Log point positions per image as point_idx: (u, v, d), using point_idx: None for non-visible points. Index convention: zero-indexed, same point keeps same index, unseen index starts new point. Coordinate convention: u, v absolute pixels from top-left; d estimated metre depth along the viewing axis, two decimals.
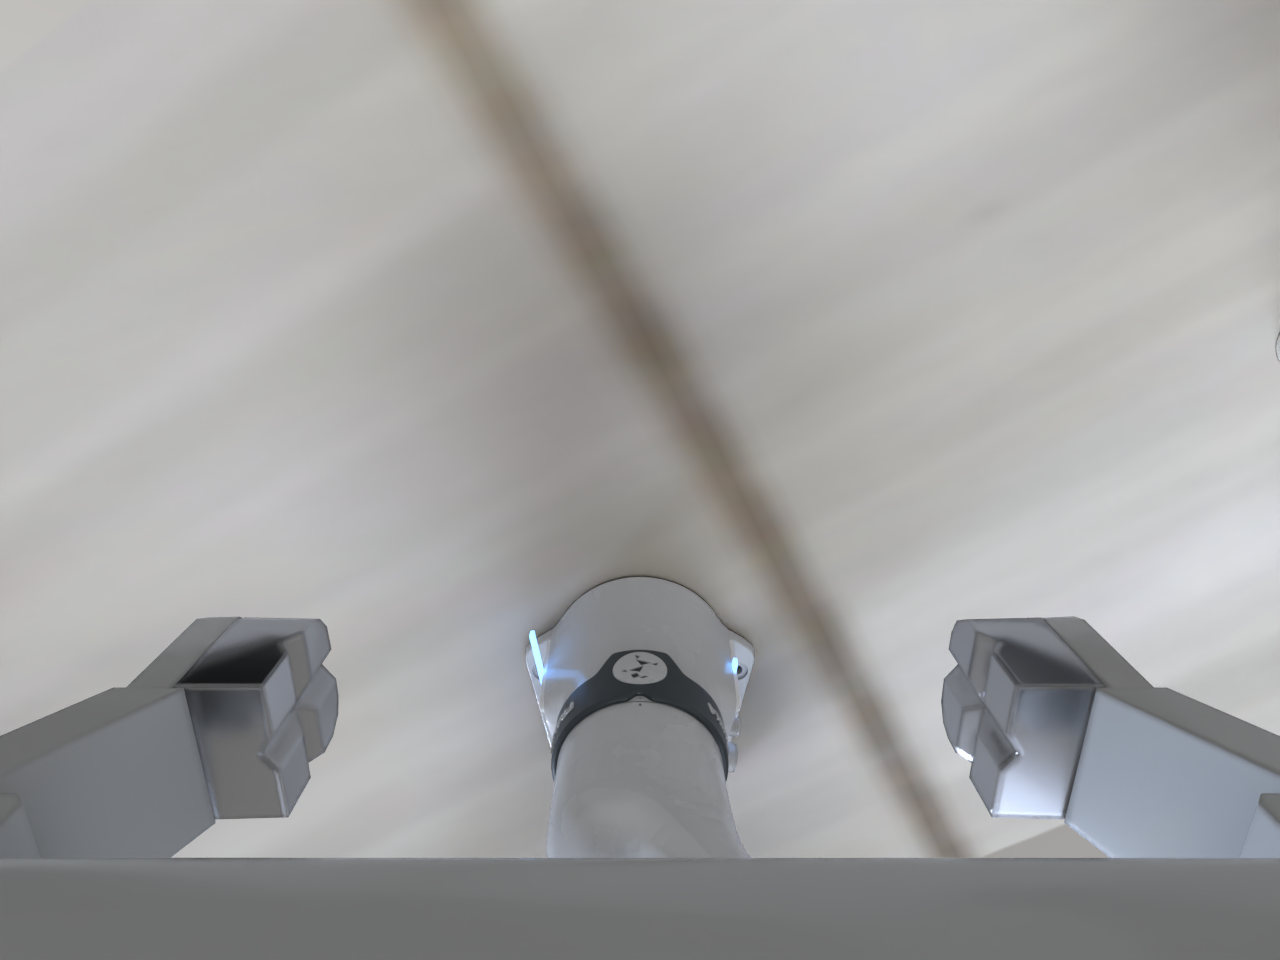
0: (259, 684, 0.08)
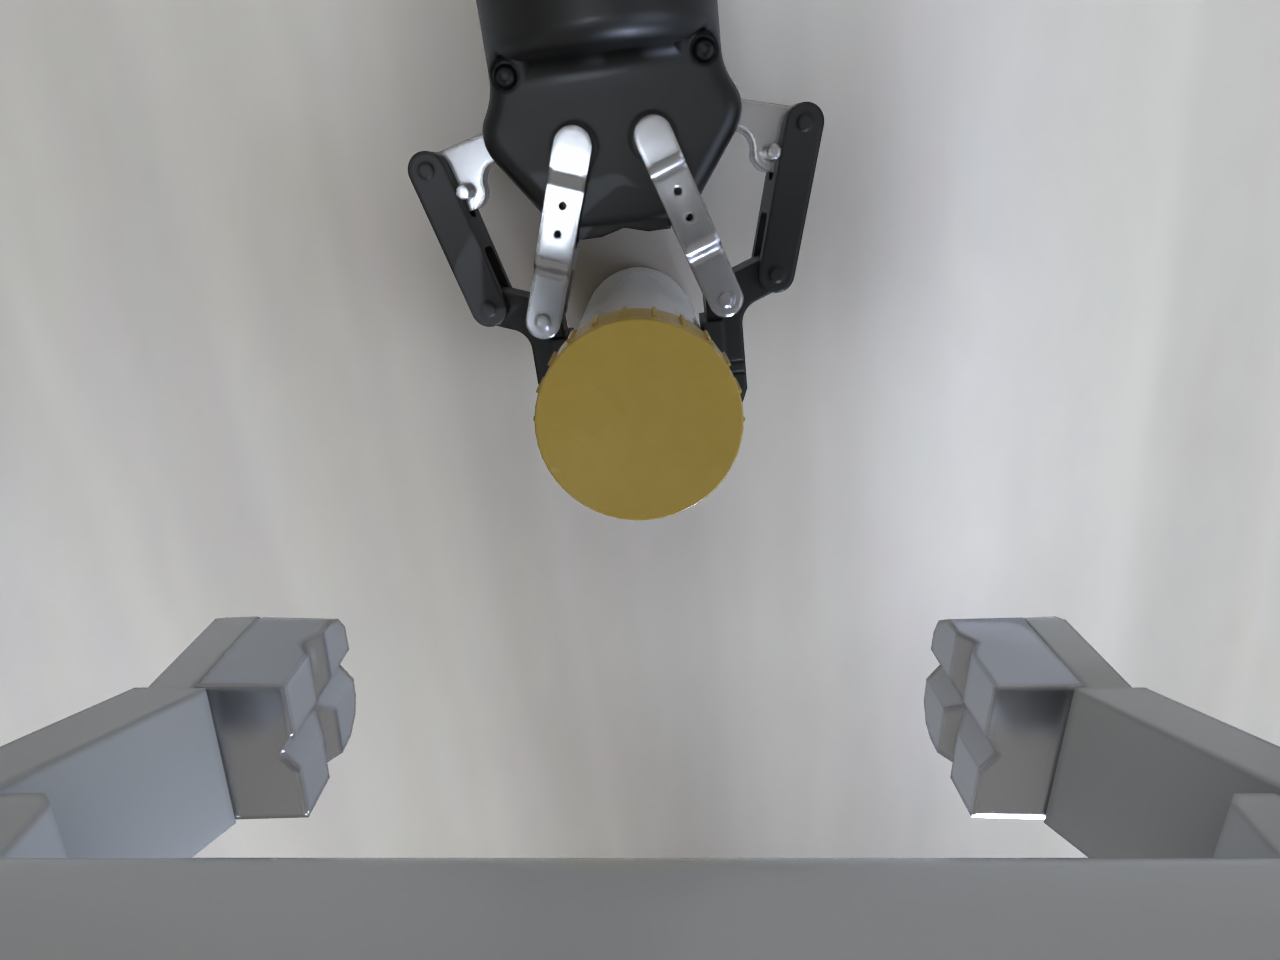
0: (280, 684, 0.08)
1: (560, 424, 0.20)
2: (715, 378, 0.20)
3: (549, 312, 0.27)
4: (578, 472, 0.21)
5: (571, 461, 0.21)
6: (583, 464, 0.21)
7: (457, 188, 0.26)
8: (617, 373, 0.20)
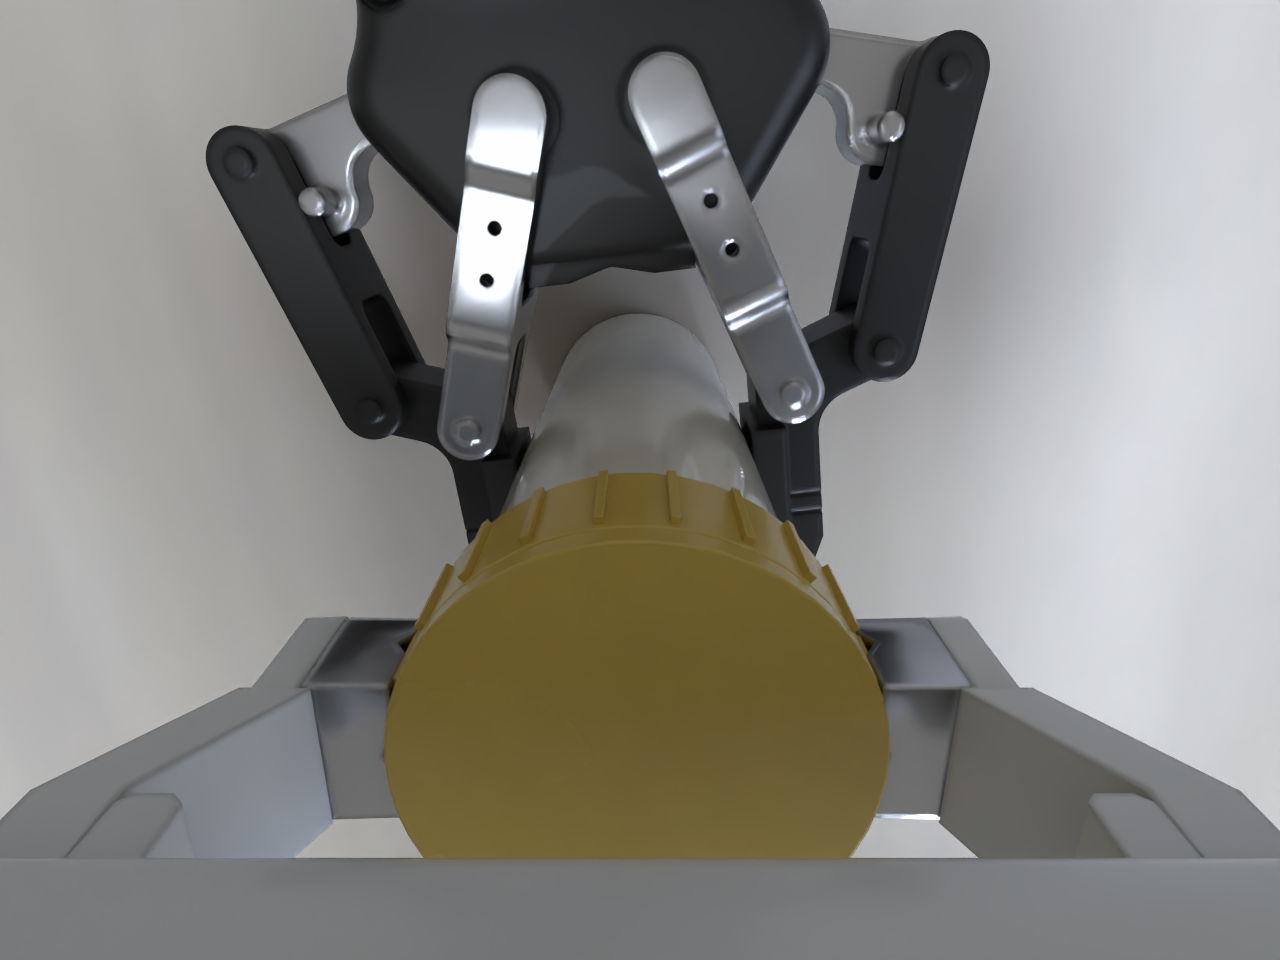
0: (383, 684, 0.08)
1: (446, 770, 0.08)
2: (827, 674, 0.08)
3: (478, 415, 0.15)
4: None
5: (477, 843, 0.09)
6: (505, 849, 0.09)
7: (301, 195, 0.14)
8: (582, 663, 0.08)
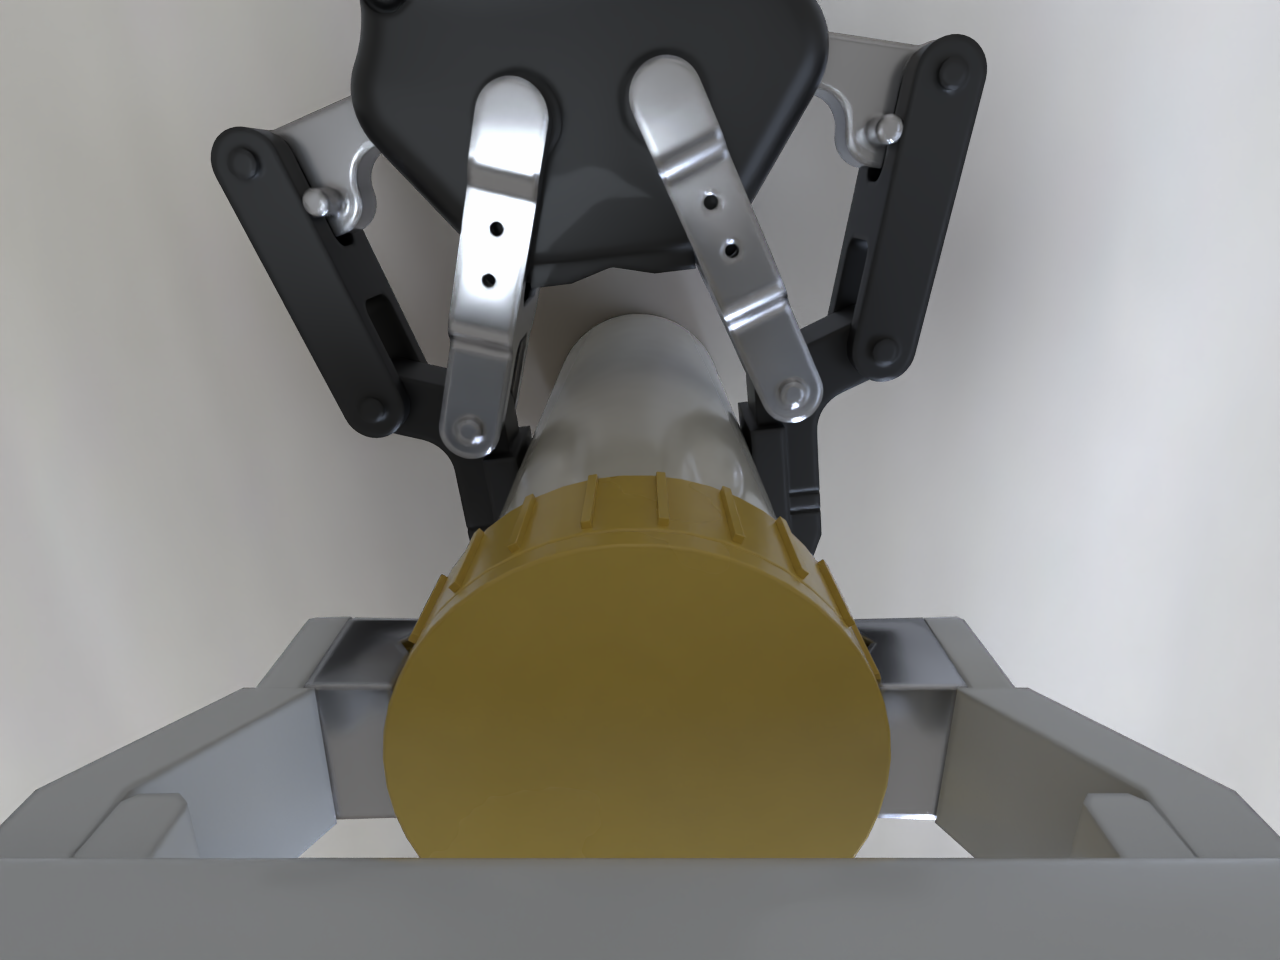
0: (389, 684, 0.08)
1: None
2: (661, 584, 0.08)
3: (480, 414, 0.16)
4: None
5: None
6: None
7: (305, 196, 0.14)
8: (503, 743, 0.08)
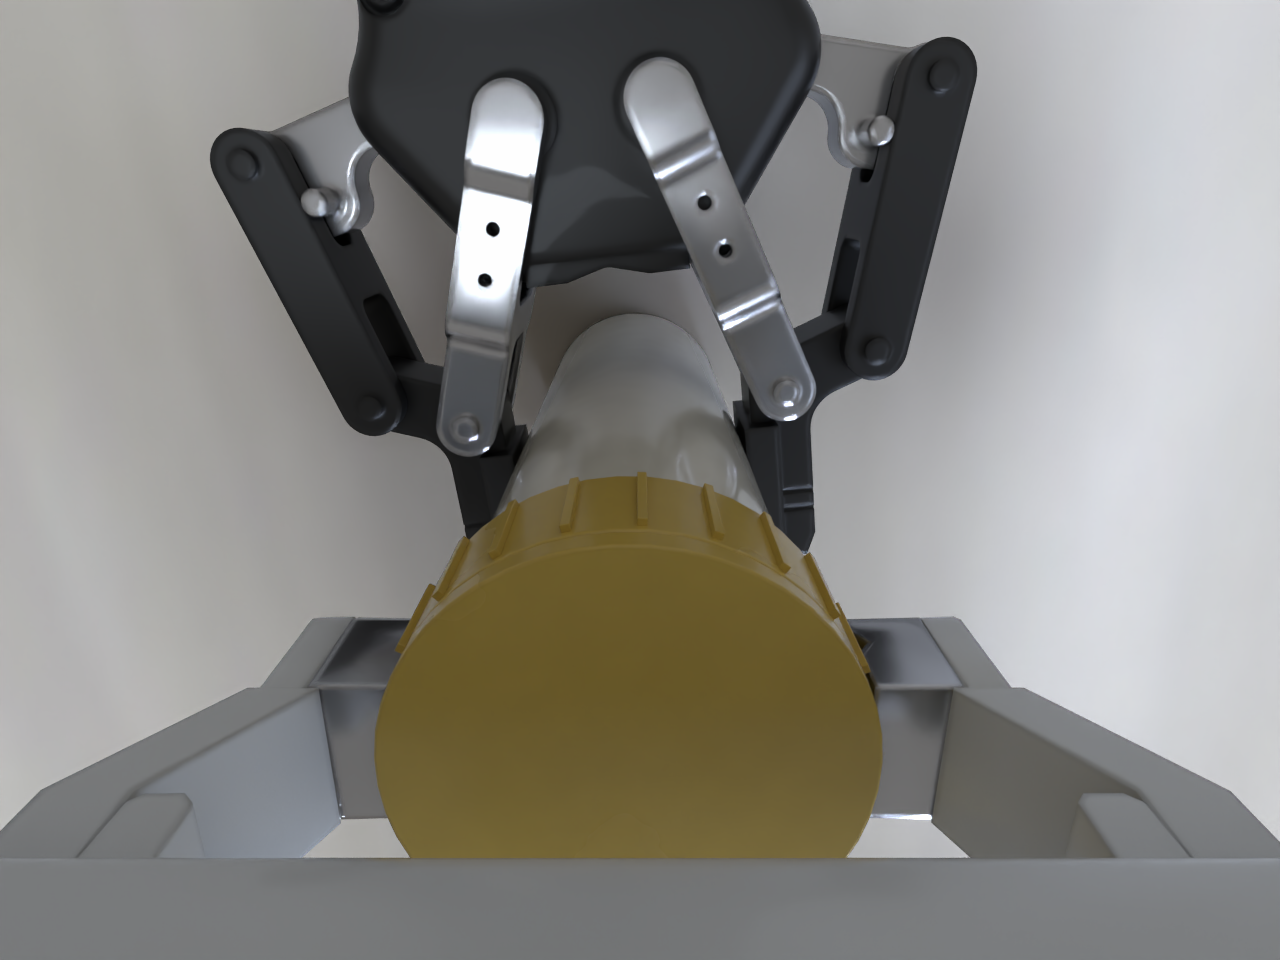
0: None
1: None
2: (462, 646, 0.08)
3: (476, 413, 0.16)
4: None
5: None
6: None
7: (303, 196, 0.14)
8: (521, 838, 0.09)
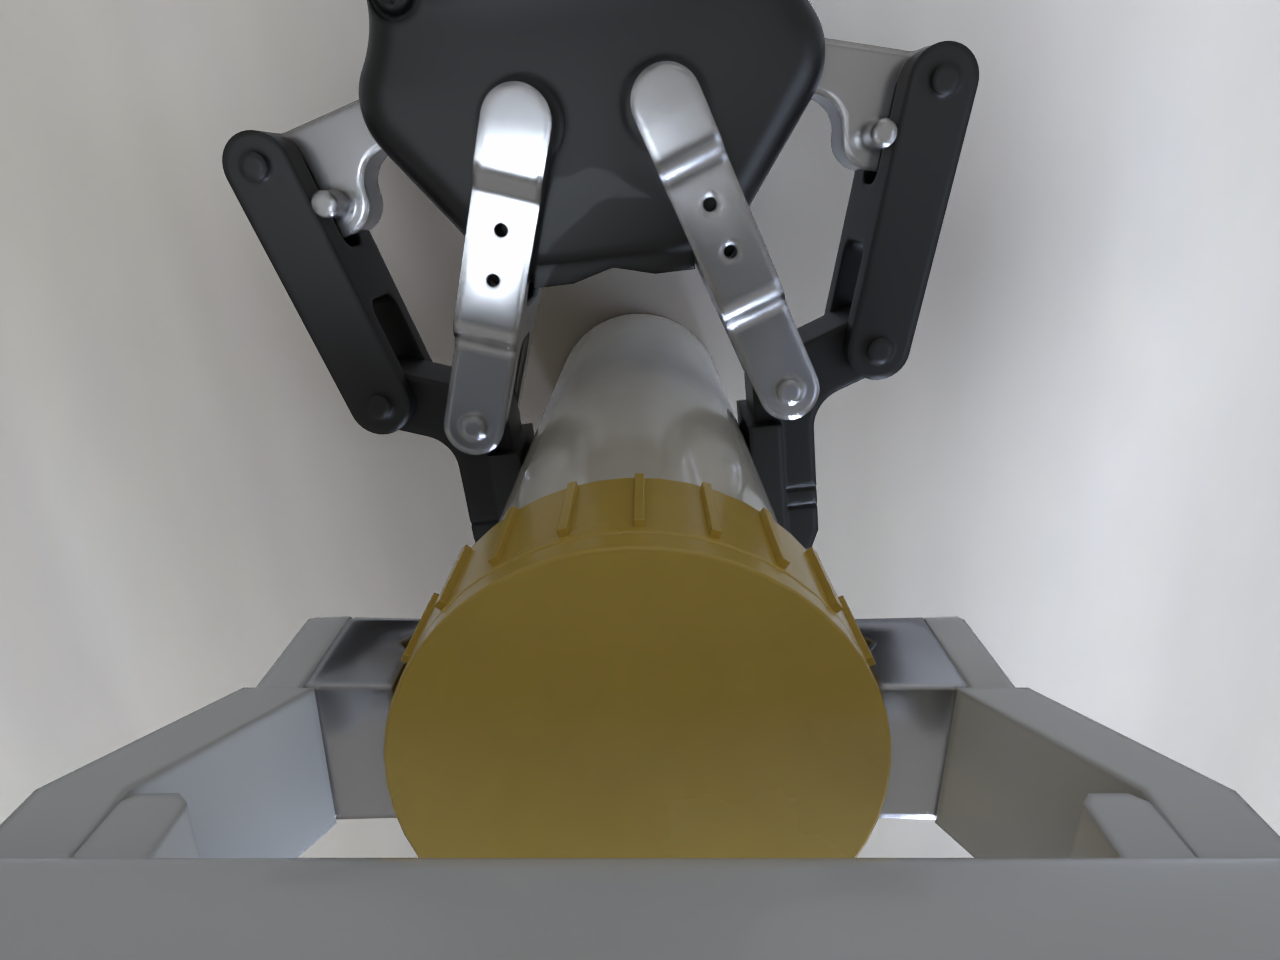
0: (388, 684, 0.08)
1: (804, 839, 0.09)
2: (427, 799, 0.09)
3: (484, 411, 0.16)
4: (829, 736, 0.08)
5: (829, 763, 0.08)
6: (807, 748, 0.08)
7: (313, 197, 0.14)
8: None
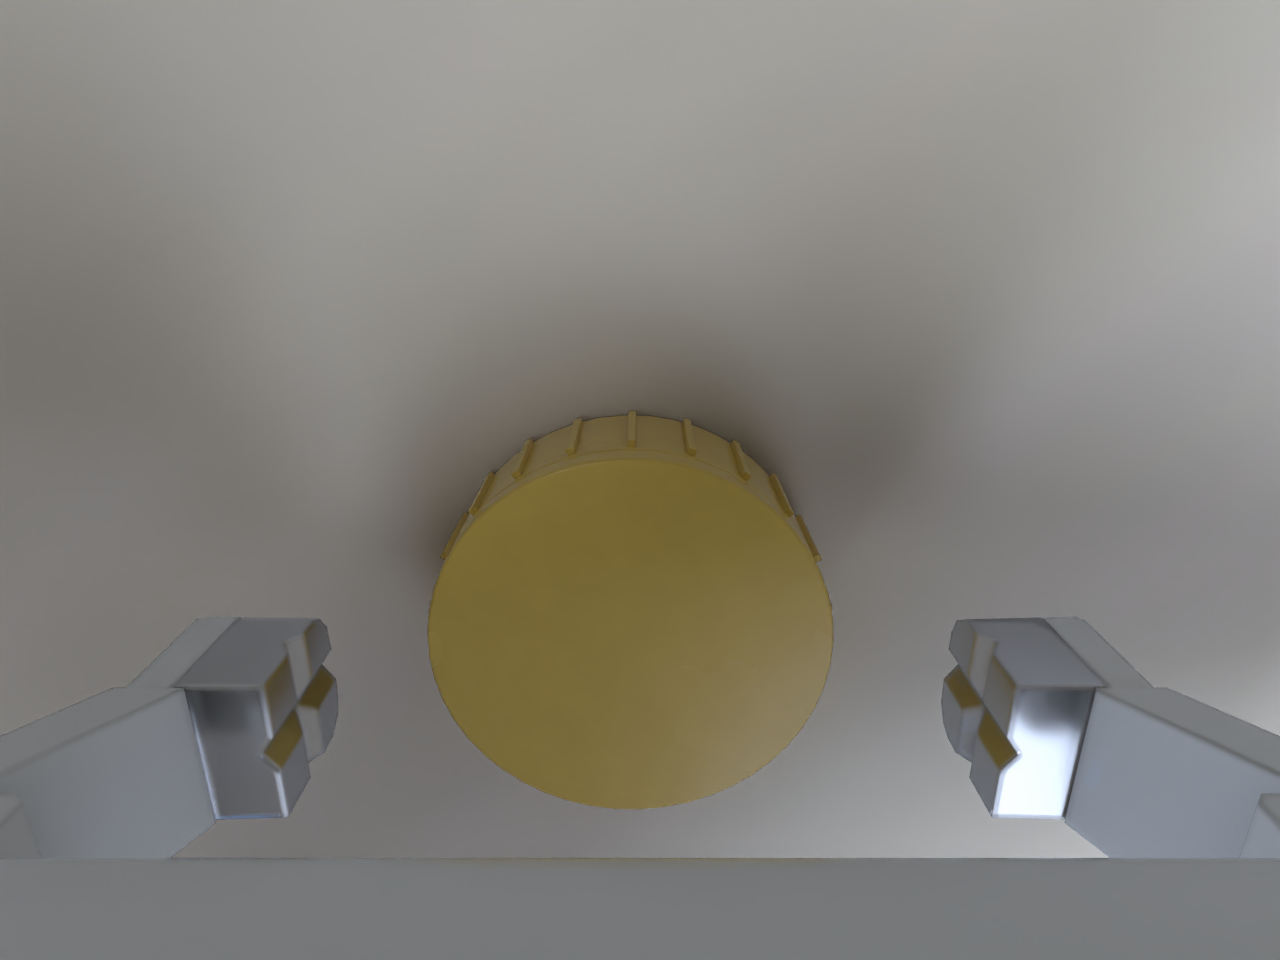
0: (259, 684, 0.08)
1: (765, 703, 0.11)
2: (461, 669, 0.11)
3: None
4: (783, 615, 0.10)
5: (784, 638, 0.10)
6: (766, 625, 0.10)
7: None
8: (625, 740, 0.11)
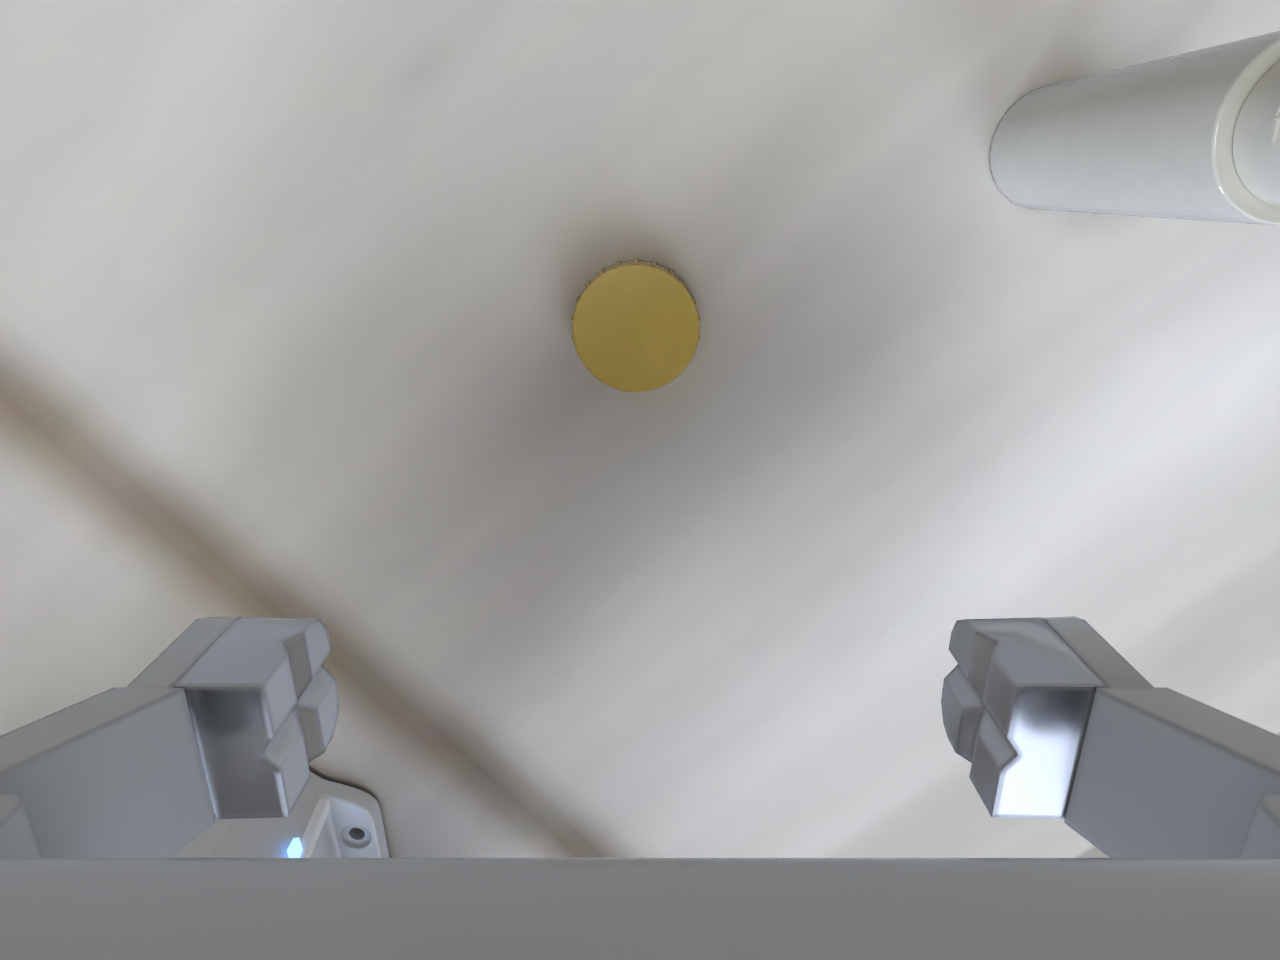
0: (259, 685, 0.08)
1: (678, 350, 0.34)
2: (582, 337, 0.34)
3: None
4: (683, 317, 0.34)
5: (683, 326, 0.34)
6: (678, 321, 0.34)
7: None
8: (634, 363, 0.34)
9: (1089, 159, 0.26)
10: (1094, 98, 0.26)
